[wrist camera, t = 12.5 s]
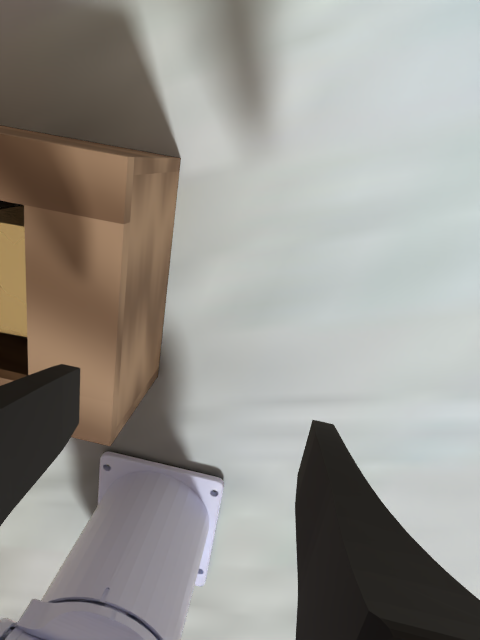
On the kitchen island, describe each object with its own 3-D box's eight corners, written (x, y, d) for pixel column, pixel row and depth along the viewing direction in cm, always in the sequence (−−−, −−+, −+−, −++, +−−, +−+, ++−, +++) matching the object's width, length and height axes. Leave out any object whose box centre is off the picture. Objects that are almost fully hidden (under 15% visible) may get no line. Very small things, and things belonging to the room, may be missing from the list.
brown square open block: (157, 376, 25) (110, 446, 18) (-34, 333, 25) (-140, 387, 19) (180, 158, 20) (127, 157, 14) (-53, 115, 21) (-197, 97, 15)
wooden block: (87, 303, 24) (33, 338, 19) (36, 294, 24) (-28, 326, 19) (86, 213, 22) (28, 227, 17) (32, 204, 22) (-41, 215, 17)
